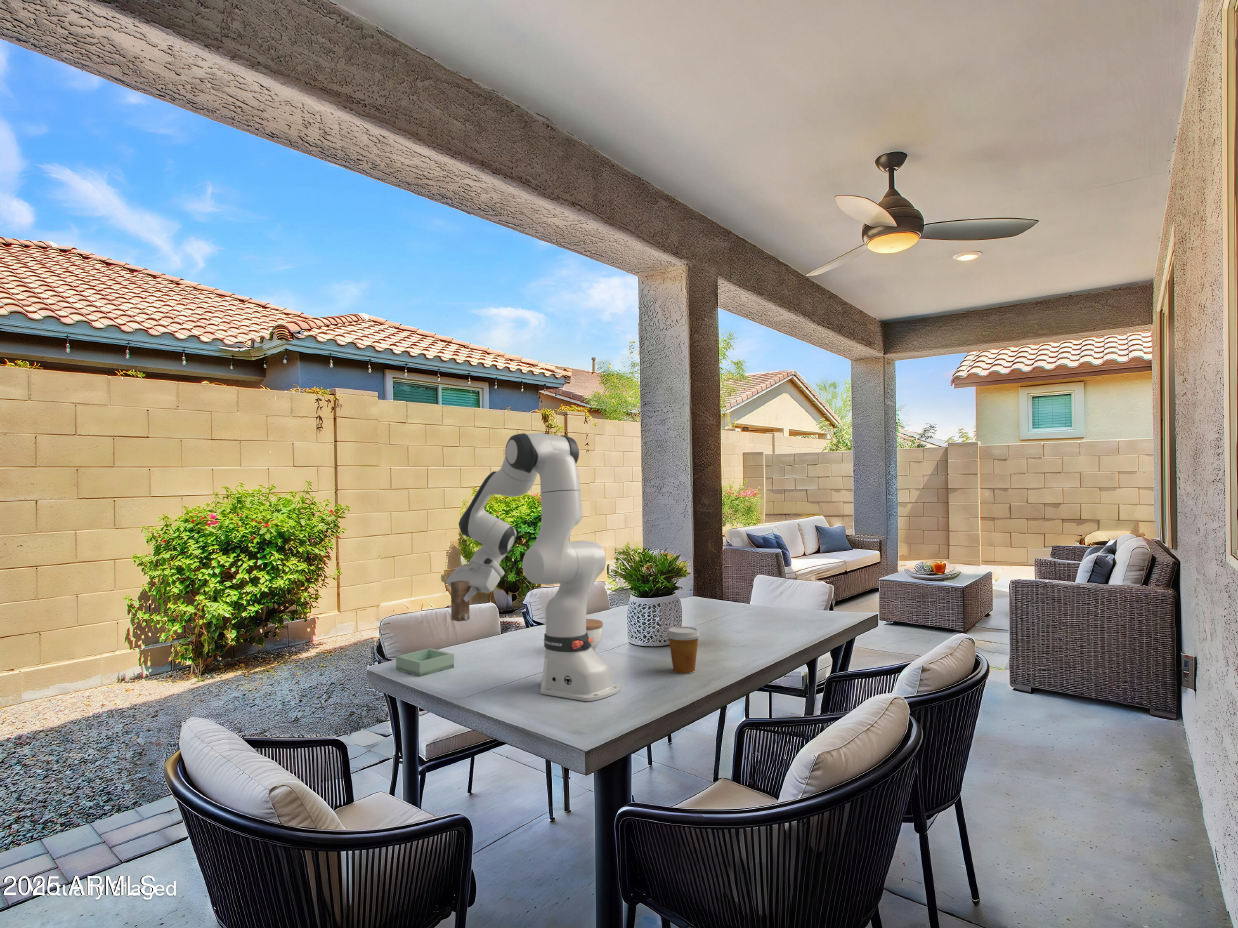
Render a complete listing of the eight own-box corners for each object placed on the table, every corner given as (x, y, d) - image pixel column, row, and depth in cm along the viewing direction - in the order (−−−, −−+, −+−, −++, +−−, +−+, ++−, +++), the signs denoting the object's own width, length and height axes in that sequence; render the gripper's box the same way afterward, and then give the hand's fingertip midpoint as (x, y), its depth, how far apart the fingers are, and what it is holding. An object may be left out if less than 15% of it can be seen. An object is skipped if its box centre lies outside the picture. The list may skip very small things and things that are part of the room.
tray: (453, 667, 197) (453, 653, 197) (419, 676, 187) (419, 662, 187) (430, 660, 204) (430, 648, 204) (396, 669, 195) (396, 656, 195)
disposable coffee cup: (702, 667, 194) (701, 626, 194) (697, 676, 184) (697, 633, 185) (671, 665, 196) (670, 625, 196) (664, 674, 187) (664, 632, 187)
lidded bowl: (586, 656, 207) (585, 621, 207) (557, 651, 215) (556, 617, 215) (610, 648, 217) (610, 615, 217) (581, 643, 225) (581, 611, 225)
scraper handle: (471, 619, 206) (471, 581, 206) (461, 621, 203) (460, 583, 203) (459, 617, 210) (459, 580, 210) (449, 619, 206) (449, 581, 207)
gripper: (457, 557, 219) (432, 590, 211) (497, 561, 206) (473, 596, 198) (468, 569, 222) (444, 602, 214) (508, 573, 209) (484, 608, 201)
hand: (458, 599), depth 206 cm, fingers closed on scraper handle, 4 cm apart
